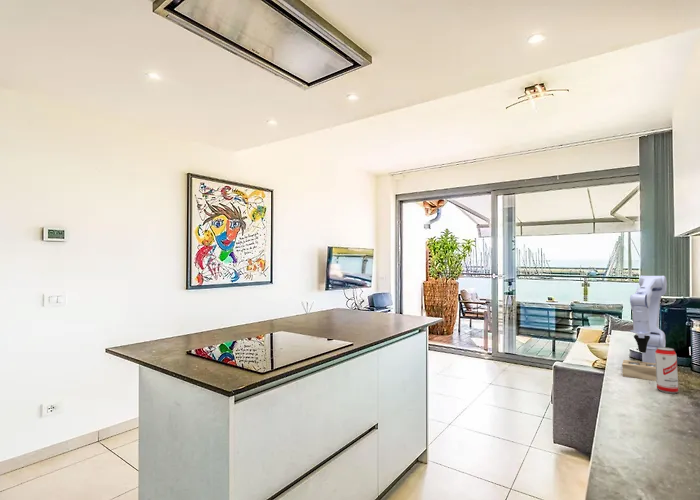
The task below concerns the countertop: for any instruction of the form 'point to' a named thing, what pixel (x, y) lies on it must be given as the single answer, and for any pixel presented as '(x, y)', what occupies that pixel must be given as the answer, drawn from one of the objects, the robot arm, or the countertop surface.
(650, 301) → the robot arm
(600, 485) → the countertop surface
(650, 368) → the housing
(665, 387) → the beer can
